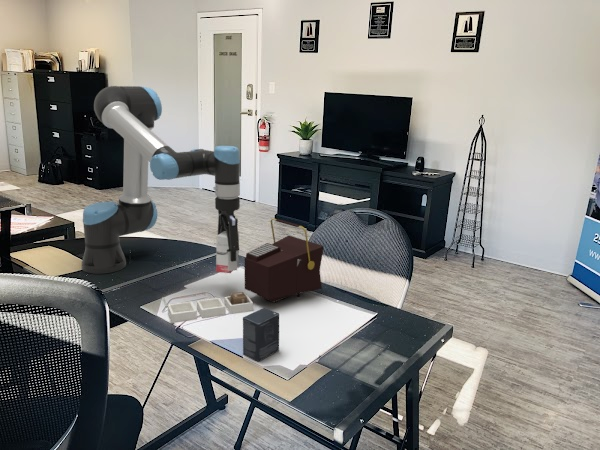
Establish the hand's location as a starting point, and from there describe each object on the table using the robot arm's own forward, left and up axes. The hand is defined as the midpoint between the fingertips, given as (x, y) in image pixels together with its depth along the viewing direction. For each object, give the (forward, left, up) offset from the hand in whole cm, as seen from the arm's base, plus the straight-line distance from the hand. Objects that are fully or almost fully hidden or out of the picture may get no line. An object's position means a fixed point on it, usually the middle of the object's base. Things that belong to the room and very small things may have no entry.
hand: (228, 265), depth 160 cm
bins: (+12, -9, -10) cm, 18 cm away
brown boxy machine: (+8, +16, -10) cm, 21 cm away
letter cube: (+12, 0, -10) cm, 15 cm away
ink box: (0, 0, -2) cm, 2 cm away
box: (+39, -2, -10) cm, 40 cm away
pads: (0, -9, -10) cm, 13 cm away
